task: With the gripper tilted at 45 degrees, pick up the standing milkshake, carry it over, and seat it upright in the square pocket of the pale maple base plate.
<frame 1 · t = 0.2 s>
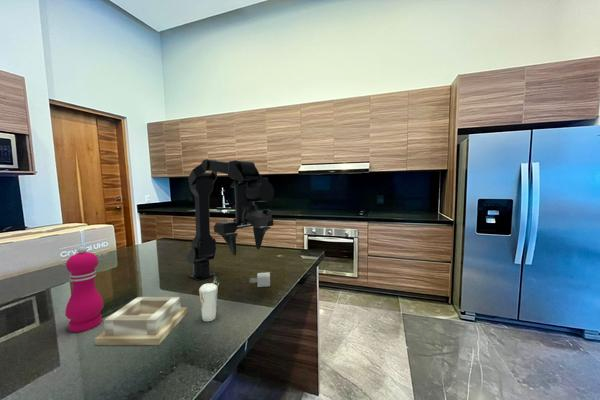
hand: (246, 252, 77), 14 cm above the counter, tool pointing down, fingers open, 9 cm apart
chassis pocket: (146, 327, 62), on the counter
pepper mill: (86, 325, 63), on the counter
usb wall charger: (259, 286, 87), on the counter
milkshake: (210, 319, 66), on the counter
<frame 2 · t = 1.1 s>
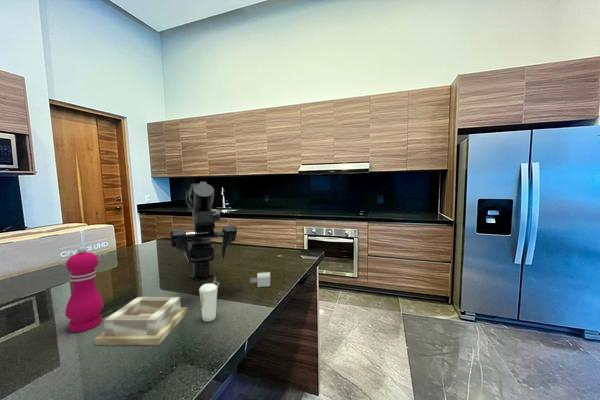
hand: (207, 260, 72), 13 cm above the counter, tool tilted 45°, fingers open, 9 cm apart
nothing on the counter moved.
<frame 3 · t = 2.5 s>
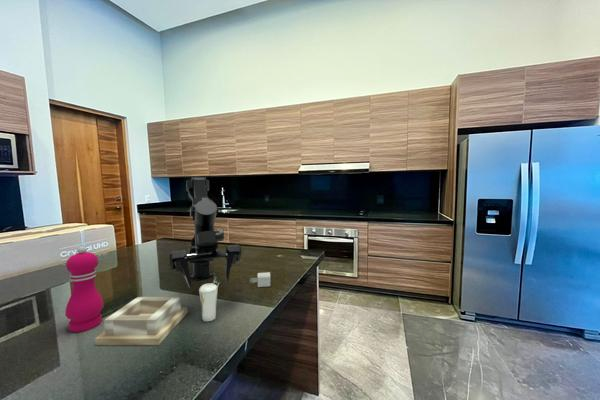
hand: (209, 284, 66), 9 cm above the counter, tool tilted 45°, fingers open, 9 cm apart
nothing on the counter moved.
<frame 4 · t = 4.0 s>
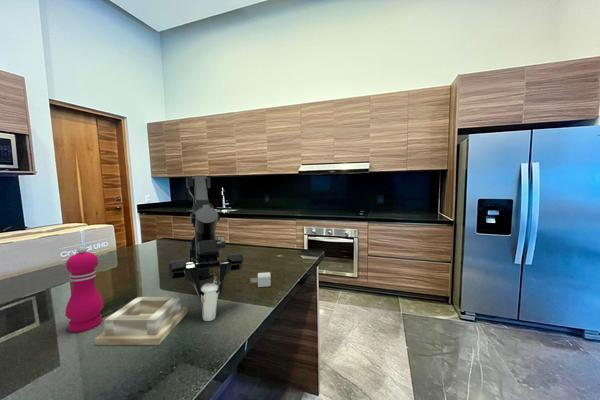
hand: (210, 295, 64), 7 cm above the counter, tool tilted 45°, fingers closed on milkshake, 4 cm apart
milkshake: (210, 319, 66), on the counter, touching gripper
everything else where it was.
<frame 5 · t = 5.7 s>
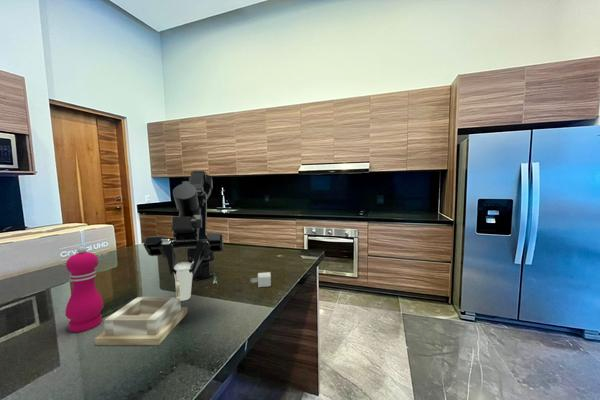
hand: (182, 274, 61), 13 cm above the counter, tool tilted 45°, fingers closed on milkshake, 4 cm apart
milkshake: (184, 299, 63), point 6 cm above the counter, touching gripper
everything else where it was.
when the fingers open (9 cm above the counter, at t = 7.6 s): milkshake drops 1 cm, resting on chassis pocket.
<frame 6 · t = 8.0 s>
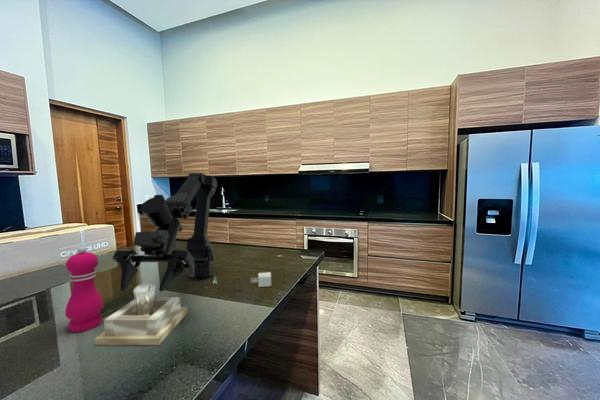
hand: (141, 291, 60), 10 cm above the counter, tool tilted 45°, fingers open, 9 cm apart
milkshake: (146, 321, 62), point 1 cm above the counter, touching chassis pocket
everything else where it was.
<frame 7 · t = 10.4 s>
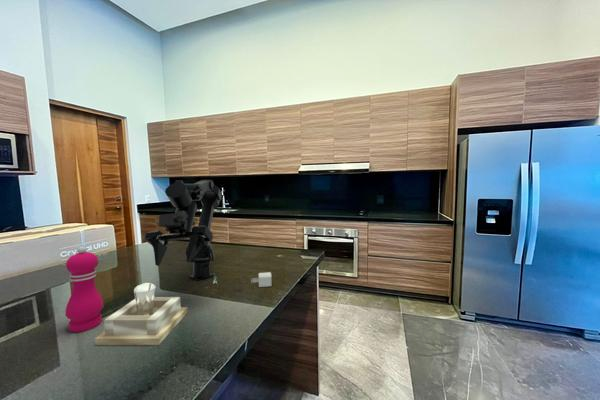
hand: (172, 263, 70), 13 cm above the counter, tool tilted 40°, fingers open, 9 cm apart
nothing on the counter moved.
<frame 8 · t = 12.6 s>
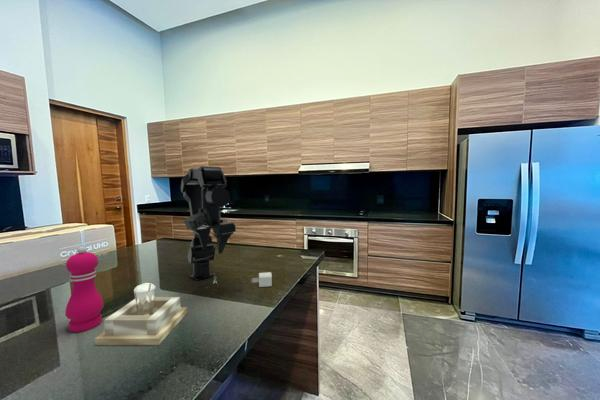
hand: (212, 251, 83), 13 cm above the counter, tool pointing down, fingers open, 9 cm apart
nothing on the counter moved.
at the end: milkshake 0.2 cm off-centre on the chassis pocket, point 1.3 cm above the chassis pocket's base; milkshake tilted 0°; the gripper is holding nothing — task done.
